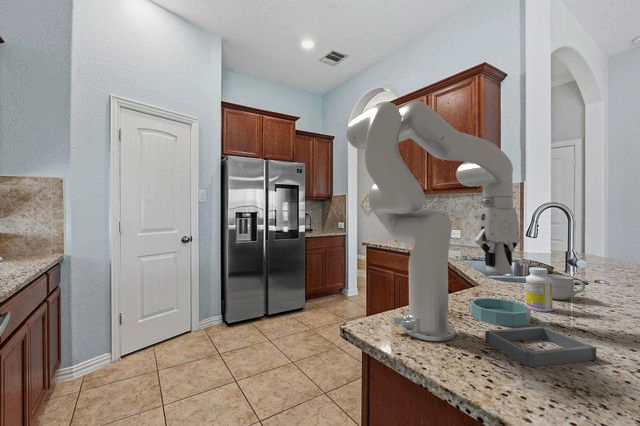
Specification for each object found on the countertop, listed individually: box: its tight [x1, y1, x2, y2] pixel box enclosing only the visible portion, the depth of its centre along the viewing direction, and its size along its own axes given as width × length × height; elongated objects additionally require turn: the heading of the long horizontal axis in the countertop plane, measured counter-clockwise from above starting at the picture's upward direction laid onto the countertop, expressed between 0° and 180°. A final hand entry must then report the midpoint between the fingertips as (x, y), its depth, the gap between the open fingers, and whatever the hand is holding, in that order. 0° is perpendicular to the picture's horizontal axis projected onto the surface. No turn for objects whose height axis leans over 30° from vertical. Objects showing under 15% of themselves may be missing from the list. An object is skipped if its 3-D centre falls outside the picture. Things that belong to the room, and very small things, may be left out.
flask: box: [485, 243, 514, 275], centre depth 86 cm, size 7×7×10 cm
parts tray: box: [484, 325, 597, 368], centre depth 65 cm, size 16×12×2 cm
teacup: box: [547, 273, 586, 301], centre depth 104 cm, size 14×11×8 cm
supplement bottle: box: [525, 266, 553, 313], centre depth 94 cm, size 7×7×13 cm
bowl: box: [469, 297, 532, 328], centre depth 86 cm, size 15×15×4 cm
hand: (498, 264), depth 87 cm, fingers closed on flask, 4 cm apart
